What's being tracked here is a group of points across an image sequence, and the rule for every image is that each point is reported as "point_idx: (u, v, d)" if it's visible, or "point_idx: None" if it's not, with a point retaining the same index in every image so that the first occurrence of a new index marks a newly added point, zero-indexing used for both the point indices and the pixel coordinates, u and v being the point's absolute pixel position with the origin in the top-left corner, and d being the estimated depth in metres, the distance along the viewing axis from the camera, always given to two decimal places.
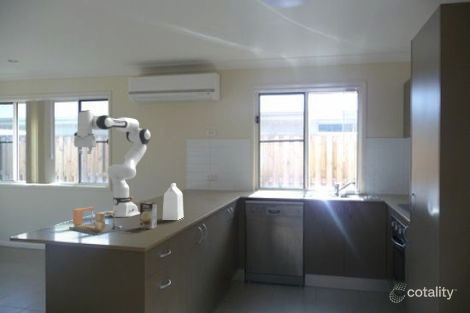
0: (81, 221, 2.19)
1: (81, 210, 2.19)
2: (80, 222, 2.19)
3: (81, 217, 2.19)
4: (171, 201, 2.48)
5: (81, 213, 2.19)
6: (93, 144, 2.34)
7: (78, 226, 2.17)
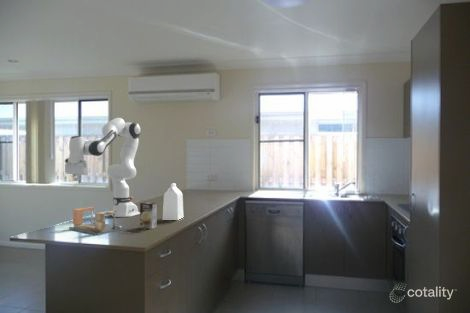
0: (81, 221, 2.19)
1: (81, 210, 2.19)
2: (80, 222, 2.19)
3: (81, 217, 2.19)
4: (171, 201, 2.48)
5: (81, 213, 2.19)
6: (84, 172, 2.24)
7: (78, 226, 2.17)
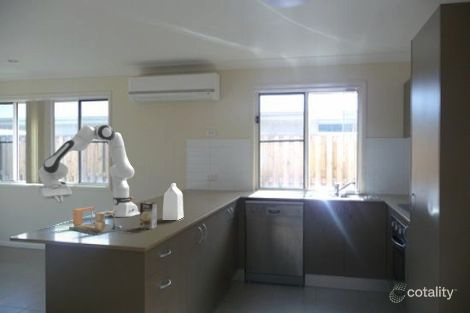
0: (81, 221, 2.19)
1: (81, 210, 2.19)
2: (80, 222, 2.19)
3: (81, 217, 2.19)
4: (171, 201, 2.48)
5: (81, 213, 2.19)
6: (41, 196, 2.24)
7: (78, 226, 2.17)
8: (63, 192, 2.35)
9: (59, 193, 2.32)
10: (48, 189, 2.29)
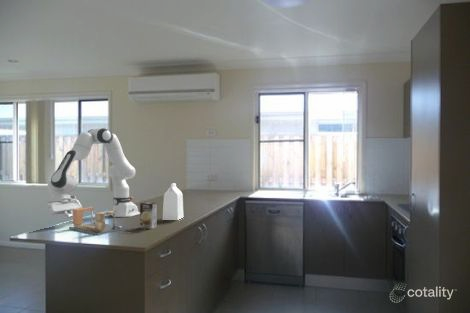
0: (81, 221, 2.19)
1: (81, 210, 2.19)
2: (80, 222, 2.19)
3: (81, 217, 2.19)
4: (171, 201, 2.48)
5: (81, 213, 2.19)
6: (50, 212, 2.18)
7: (78, 226, 2.17)
8: (73, 207, 2.29)
9: (69, 208, 2.26)
10: (58, 204, 2.23)
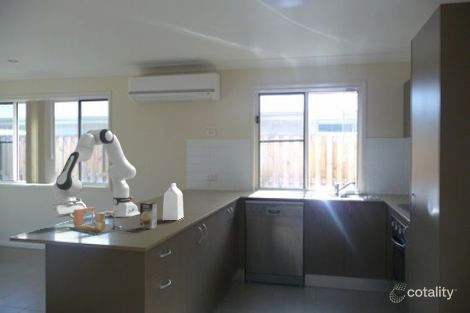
0: (82, 221, 2.19)
1: (82, 210, 2.19)
2: (81, 222, 2.19)
3: (82, 217, 2.19)
4: (171, 201, 2.48)
5: (82, 213, 2.19)
6: (56, 214, 2.15)
7: (78, 226, 2.17)
8: None
9: None
10: (63, 206, 2.20)
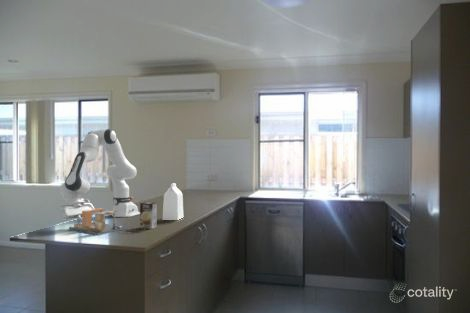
0: (90, 223, 2.14)
1: (90, 211, 2.14)
2: (89, 224, 2.14)
3: (90, 219, 2.14)
4: (171, 201, 2.48)
5: (90, 215, 2.14)
6: (64, 216, 2.10)
7: (78, 226, 2.17)
8: None
9: None
10: (71, 208, 2.15)
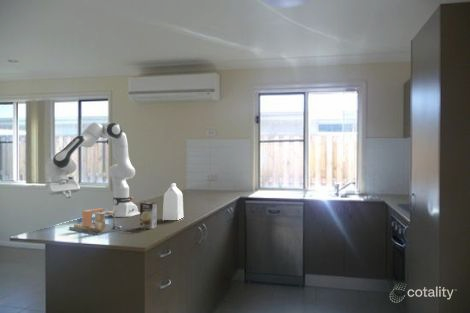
0: (90, 223, 2.14)
1: (90, 212, 2.14)
2: (89, 224, 2.14)
3: (90, 219, 2.14)
4: (171, 201, 2.48)
5: (90, 215, 2.14)
6: (49, 192, 2.19)
7: (78, 226, 2.17)
8: (71, 187, 2.30)
9: (67, 188, 2.27)
10: (56, 184, 2.24)
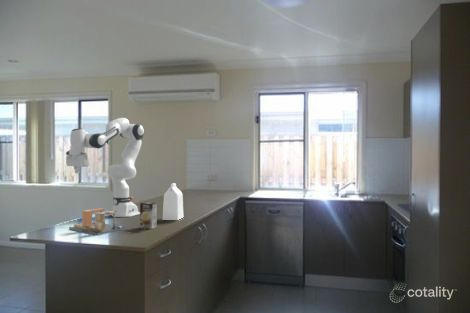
0: (90, 223, 2.14)
1: (90, 212, 2.14)
2: (89, 224, 2.14)
3: (90, 219, 2.14)
4: (171, 201, 2.48)
5: (90, 215, 2.14)
6: (85, 164, 2.27)
7: (78, 226, 2.17)
8: None
9: None
10: None
